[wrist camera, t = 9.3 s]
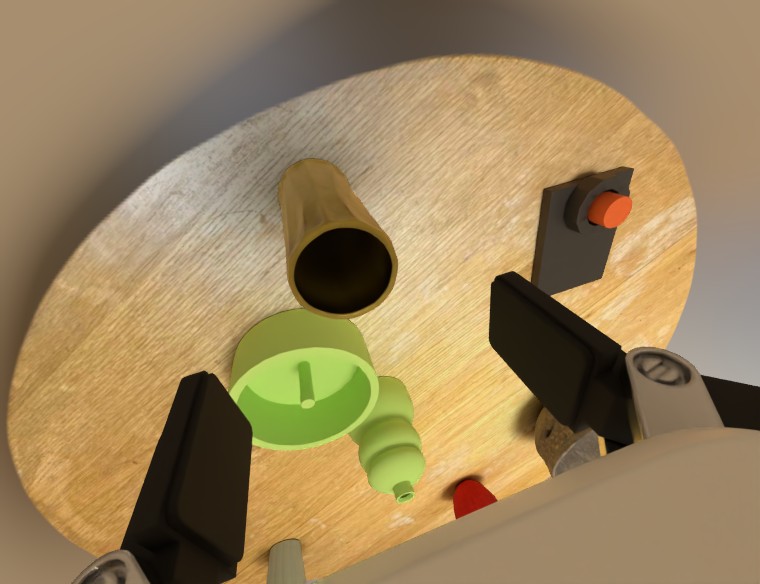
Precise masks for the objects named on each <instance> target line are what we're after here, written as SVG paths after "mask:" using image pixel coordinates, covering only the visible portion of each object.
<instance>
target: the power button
mask: <svg viewBox="0 0 760 584" xmlns="http://www.w3.org/2000/svg"><path fill="white" fill-rule="evenodd" d="M631 208H632V200H631V199H630V198H629V197H627V196H624V195H620V194H616V193H613V192H608V191H607V192H603V193H601V194H600V195H599V196H597V197H596V198H595V199H594V201H593V203H592V204H591V206H590V207H589V209H588V214H587V218H588V220H589V221H591V222H593V223H596V224H599V225H601V226H604V227H606V228H614V227H616V226H618V225H620V224H621V223H622V222H623V221H624V220H625V219H626V218H627V216H628V215H629V213H630V211H631Z"/></svg>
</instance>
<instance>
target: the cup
mask: <svg viewBox="0 0 760 584" xmlns="http://www.w3.org/2000/svg"><path fill="white" fill-rule="evenodd" d="M267 584H306V578H305V571H304V564H303V557H302V550H301V543H300V541H299V540H295V539H290V540H285V541H282V542H279V543H277V544H276V545H274V546H273V547H272V548H271V550H270V557H269V565H268V574H267Z"/></svg>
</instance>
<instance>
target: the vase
mask: <svg viewBox="0 0 760 584" xmlns="http://www.w3.org/2000/svg"><path fill="white" fill-rule="evenodd" d="M278 201H279V205H280V208H281V211H282V222H283V232H284V239H285V248H286V263H287V277H288V282H289V286H290V288H291V290H292V292H293V294H294V296H295V298H296V299H297V301H298V302H299V303H300V305H302V306H303V307H304V308H305V309H307V310H308V311H310V312H312V313H314V314H316V315H319V316H323V317H326V318H330V319H351V318H356V317H359V316H361V315H363V314H365V313H367V312H369V311H371V310H373V309H375V308H376V307H378V306H379V305H380V304H381V303H382V302H383V301H384V300H385V299H386V298H387V297H388V295H389V294H390V292H391V291H392V289H393V287H394V284H395V281H396V276H397V271H398V259H397V256H396V253H395V250H394V247H393V245H392V242H391V240H390V238H389V237H388V235H387V234H386V233H385V232H384V231H383V230H382V229H381V227H380V226H379V225H378V223H377V222H376V221H375V220H374V218H373V217H372V216H371V215H370V214H369V212H368V211H367V209H366V208H365V207H364V205H363V203H362V202H361V201H360V200H359V198H358V197H357V196H356V195H355V194H354V193H353V191H352V190H351V188H350V185H349V182H348V180H347V178H346V176H345V175H344V173H343V172H342V171H341V170H340V169H338V168H337V167H336V166H334V165H333V164H331V163H330V162H328V161H325V160H321V159H305V160H301V161H299V162H297V163H295V164H294V165H292V166H291V167H289V168H288V169H287V170H286V172H285V173H284V174H283V176H282V178H281V180H280V183H279V187H278Z"/></svg>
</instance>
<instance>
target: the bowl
mask: <svg viewBox="0 0 760 584" xmlns="http://www.w3.org/2000/svg"><path fill="white" fill-rule="evenodd" d="M535 445H536V449H537V452H538V453H539V455H540V456H541V457H542V459H543V460H544V461H545V463H546V465H547V467H548V469H549V472H550V474H551V477H555V476H557V475H559V474H562V473H564V472H566V471H569V470H571V469H573V468H576V467H578V466H580V465H582V464H585V463H587V462H590V461H592V460H595V459H597V458H600V457H601V456H600V449H599V441H598V435H597V434H596V433H595V432H594V431H593V430H592V429H591V428H588V429H586V430H584V431H581V432H579V433H577V434H574V433H573V432H572V430H571V429H570V428H569V427H568V426H563V425H562V424H560V423H559V422H558V421H557V420H556V419H555V417H554V416H553V415H552V414H551V413H550V412H549V411H548V410H547V408H546V407H545V406H544V407H543V409H542V410H541V412H540V414H539V416H538V418H537V421H536V426H535Z"/></svg>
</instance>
